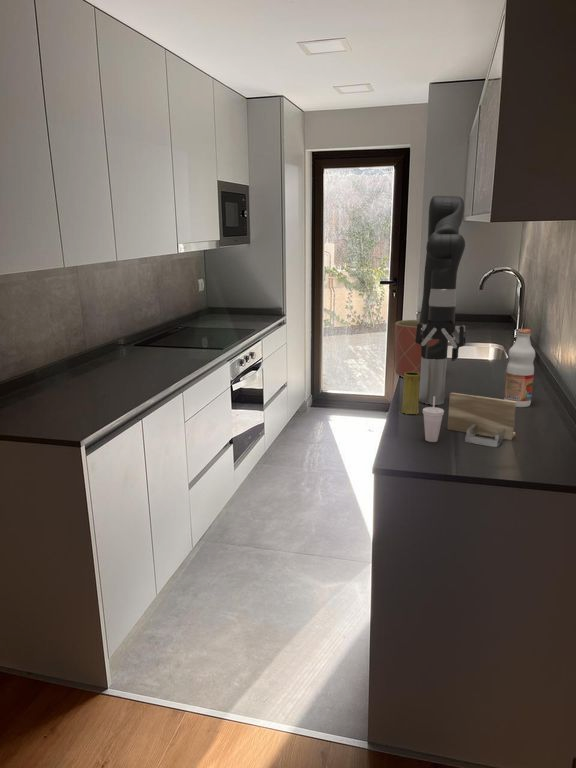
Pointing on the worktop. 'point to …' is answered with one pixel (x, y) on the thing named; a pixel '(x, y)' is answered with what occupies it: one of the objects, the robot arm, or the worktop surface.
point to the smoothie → (432, 422)
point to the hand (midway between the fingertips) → (439, 359)
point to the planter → (408, 347)
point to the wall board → (481, 414)
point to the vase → (411, 393)
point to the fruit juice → (520, 370)
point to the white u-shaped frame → (474, 439)
